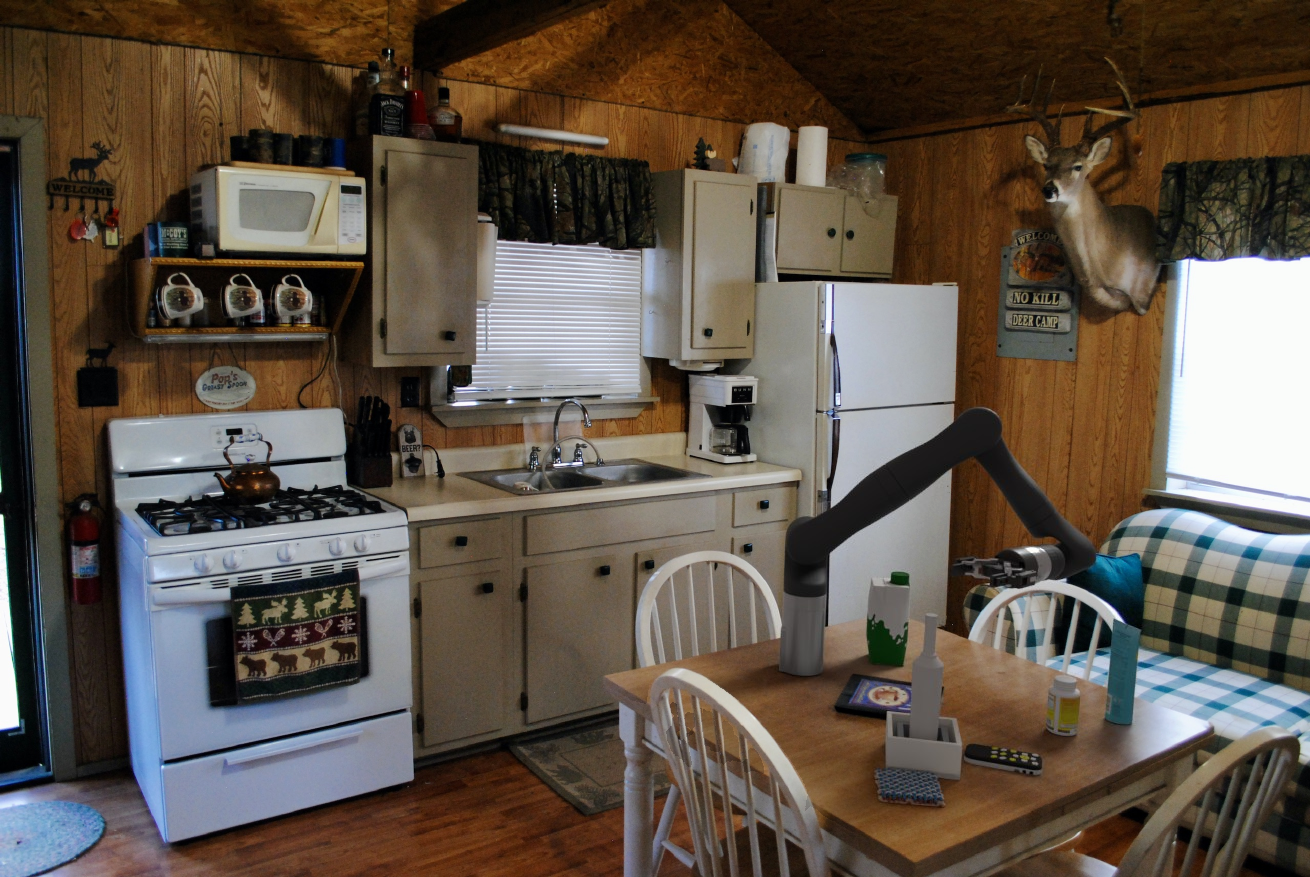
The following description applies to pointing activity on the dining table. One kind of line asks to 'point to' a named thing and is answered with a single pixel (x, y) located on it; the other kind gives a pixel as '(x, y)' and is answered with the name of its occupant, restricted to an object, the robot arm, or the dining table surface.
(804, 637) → the robot arm
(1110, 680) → the tube
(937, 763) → the walled box
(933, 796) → the woven mat
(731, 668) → the dining table surface
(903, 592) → the milk carton
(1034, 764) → the remote control
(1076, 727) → the supplement bottle
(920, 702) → the bottle
